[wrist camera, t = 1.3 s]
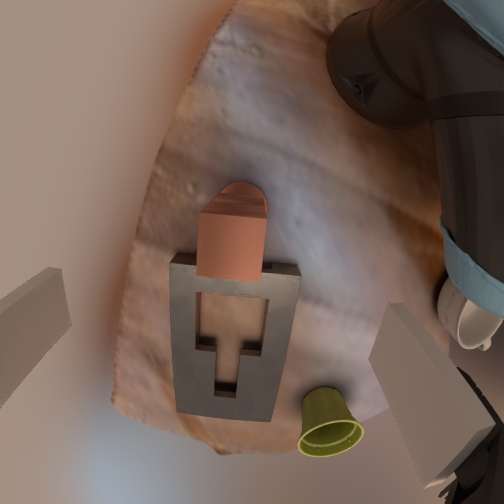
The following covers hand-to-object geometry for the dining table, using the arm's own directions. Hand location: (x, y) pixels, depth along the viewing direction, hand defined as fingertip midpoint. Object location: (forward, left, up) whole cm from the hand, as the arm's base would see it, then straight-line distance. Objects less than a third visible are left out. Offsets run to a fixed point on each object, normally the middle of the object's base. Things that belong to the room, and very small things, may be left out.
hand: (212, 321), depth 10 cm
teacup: (-33, +9, -23) cm, 41 cm away
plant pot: (-15, +28, -23) cm, 39 cm away
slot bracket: (0, +18, -23) cm, 29 cm away
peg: (0, 0, -23) cm, 23 cm away
